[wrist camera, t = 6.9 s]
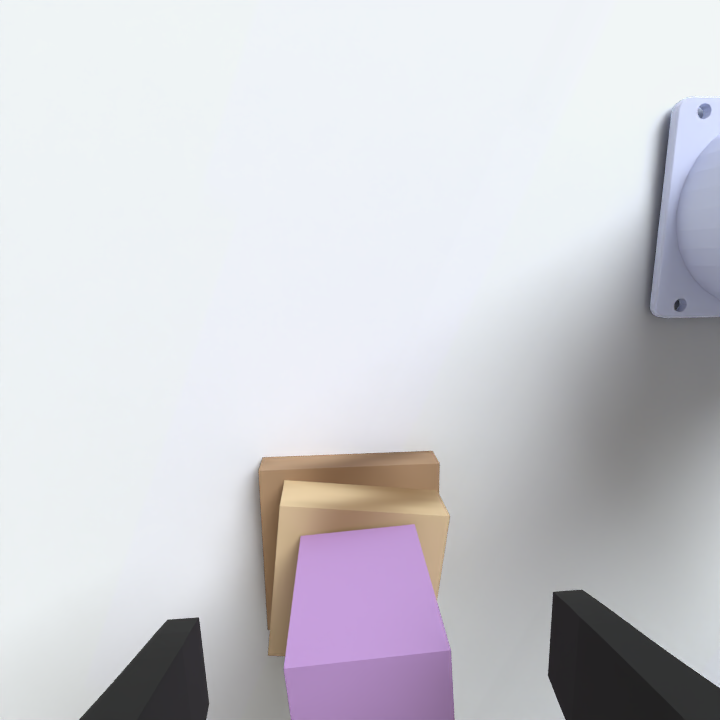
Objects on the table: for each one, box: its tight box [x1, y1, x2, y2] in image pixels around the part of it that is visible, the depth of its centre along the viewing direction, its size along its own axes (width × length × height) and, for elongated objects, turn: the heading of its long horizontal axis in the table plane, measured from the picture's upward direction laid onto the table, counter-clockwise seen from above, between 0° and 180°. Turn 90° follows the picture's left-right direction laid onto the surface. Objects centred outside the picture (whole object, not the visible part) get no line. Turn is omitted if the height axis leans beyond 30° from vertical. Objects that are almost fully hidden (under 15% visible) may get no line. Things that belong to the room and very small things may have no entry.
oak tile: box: [268, 480, 450, 656], centre depth 18 cm, size 6×6×2 cm
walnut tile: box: [259, 451, 440, 630], centre depth 20 cm, size 7×7×2 cm
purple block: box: [284, 524, 454, 720], centre depth 15 cm, size 4×4×6 cm
